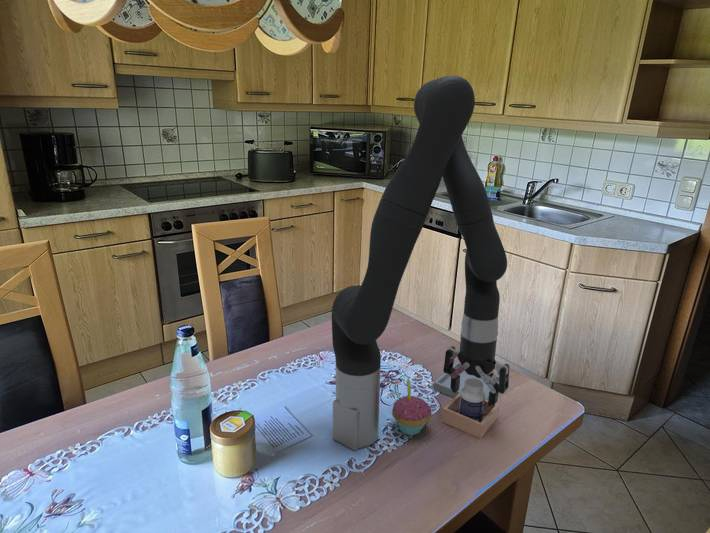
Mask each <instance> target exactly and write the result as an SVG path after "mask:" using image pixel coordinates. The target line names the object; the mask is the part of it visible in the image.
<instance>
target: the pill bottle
mask: <svg viewBox="0 0 710 533" xmlns="http://www.w3.org/2000/svg"><path fill="white" fill-rule="evenodd" d="M484 403H485V393H484V391H483V382H482V381H480V380H478V379H475V378H469V379H467V380H465V385H464V388H463V389H462V390H461V393H460V403H459V409H458V413H459V414H461V415H464V416H466V417H469V418H471V419H473V420H476V421H478V422H480V423H481V422H482V421H483V419H484V414H483V412H484Z"/></svg>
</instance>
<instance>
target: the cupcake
mask: <svg viewBox="0 0 710 533" xmlns="http://www.w3.org/2000/svg"><path fill="white" fill-rule="evenodd" d="M406 384H407V385H406V386H407V395H405V396H404V395H403V396H402V397H400V398H398V399H396V400H395V401H394V402H393V404H392V409H391V410H392V411H391V413H392V414H391V415H392V417H393V418H394V419H395V421H396V423H397V424H398V425H397V426H398V428H399V431H400V432H401V433H403V434H404V435H408V436H414V435H418V434H419V433H420V432H421V431H422V428H423V426H424V424H426V423H427V422H428V421H431V418H432V408H431V406H430V405H429V403H428V402H426V401H425V400H424V399H423V398H421V397H419V396H414V395H412V393H411V392H412V391H411V380H410V378H409V376H407V380H406Z"/></svg>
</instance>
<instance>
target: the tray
mask: <svg viewBox="0 0 710 533" xmlns="http://www.w3.org/2000/svg"><path fill="white" fill-rule="evenodd" d="M459 366H461V363H460V361H457V362H456V363H454V364H453V368H455V369H457V368H458V367H459ZM459 375H460V385H459V390H458V391H457V392H456V393H454V392H452V389H451V387H450V386H451V376H450V375H449V374H448V373H447V374H446V373H444V372H443V374H442V375H440V377H438V378H437V379H436V380H435V381H434V382H433V390H434V391H437V392H439V393H441V394H444V395H447V396H449V397H451V398H452V399H454V398H455V397H456V396H457V395H458V394H459V393H460V392H461V390H462V389H463V388H464V385H465V380H467V379H469V378H475V379H478V380H480V381H482V382H483V391H484V393H485V400H488V399H489V392H490V389H489V387H488V386H487V385H486V384H485V383H484V381H483V380H482V378H477V377H475V376H474V375H469V374H467V372H465V370H464V371H463V372H462V373H461V374H459ZM495 375H496V379H497V381H498V383H499V375H498V374H495ZM487 376H488V377H489V375H487Z"/></svg>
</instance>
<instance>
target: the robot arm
mask: <svg viewBox="0 0 710 533" xmlns="http://www.w3.org/2000/svg"><path fill="white" fill-rule="evenodd" d="M415 94H416V95H415V97H414V101H413V112H414V114H415V117H416V119H417V121H418V124H419V125H418V129H417V131H416V134H415V137H414V139H413V143H412V145H411V146H410V150H409V151H408V153H407V155H406V157H404V159H403V160H402V162H401V163H400V165H399V167H398V168H397V169H396V171H395V172H394V173H393V175H392V176H391V178H390V180H389V182H388V183H387V185H386V187H385V189H384V191H383V193H382V195H381V198H380V201H379V202H378V205H377V208H376V211H375V212H374V213H375V214H374V216H373V219H372V222H371V226H370V227H371V228H370V234H369V235H370V236H369V247H368V260H367V261H368V262H367V268H366V271H365V275H364V277H363V281H362V283H361V285H350V286H347V287H345V288H343V289H341V290H340V291H339V292H338V293H337V295H336V296H335V298H334V301H333V303H332V307H331V332H332V333H331V336H332V340H331V341H332V349H333V353H334V356H335V399H334V400H332V439H333V440H335V441H336V442H339V443H340V444H342V445H343V446H345V447H347V448H349V449H351V450H353V451H357V450H358V449H362V448H366V447H369V446H371V445H373V444H374V443H375V442H376V441H377V440H378V438H379V430H380V429H379V428H380V426H379V424H380V422H379V421H380V396H381V394H380V391H381V368H382V367H381V366H382V365H381V364H382V363H381V362H382V361H381V360H382V359H381V358H382V354H381V350H380V347H379V345H378V343H377V340H378V339H379V338H380V337H381V335H382V334H383V333H384V332H385V330H386V329H387V326H388V324H389V321H390V318H391V314H392V311H393V309H394V304H395V300H396V298H397V294H398V291H399V288H400V284H401V281H402V279H403V276H404V274H405V271H406V268H407V265H408V264H409V262H410V258H411V256H412V253H413V251H414V248H415V245H416V243H417V241H418V239H419V237H420V235H421V231H422V229H423V227H424V224H425V222H426V220H427V217H428V216H429V212H430V210H431V207H432V203H433V201H434V200H435V199H434V198H435V196H436V194H437V191H438V189H439V186H440V184H441V181H443V183H444V186H445V189H446V193H447V196H448V198H449V202H450V206H451V209H452V210H451V211H452V212H453V216H454V219H455V222H456V226H457V229H458V232H459V233H460V235H461V236H462V239H463V241H464V244H465V248H466V252H465V254H464V255H465V256H464V278H465V296H464V303H463V304H464V306H463V314H462V320H461V327H460V328H461V329H460V342H459V350H457V349H456V347H455V346H452V345H451V346H450V347H449V348H447V350H446V351H445V355H444V363H443V364H444V365H443V374H444V373H446V374H447V373H448V374H449V375H450V376H451V386H450V387H451V389H452V392H454V393H456V392H457V391H458V390H459V385H460V375H459V374H461V373H462V372H463V371H464V370H465V372H467V374H469V375H474V376H475V377H477V378H482V380H483V381H484V383H485V384H486V385H487V386H488V387H489V389H490V392H489V399H488V406H490V407H492V406H493V405H495V404H497V402H498V399H499V394H502V395H503V394H505V392H506V391H507V390H508V389H509V386H510V384H509V381H510V364H508V363H504V364H500V363H497V361H496V352H497V340H498V336H499V312H500V311H499V310H500V303H501V302H500V300H501V299H500V292H499V288H498V286H497V285H498V283H497V281H498V280H500V279H502V278H503V276H504V275H505V273H506V271H507V268H508V258H507V255H506V250H505V247H504V245H503V243H502V240H501V237H500V234H499V232H498V230H497V228H496V225H495V222H494V215H493V211H492V209H491V208H492V207H491V204H490V201H489V197H488V194H487V190H486V187H485V185H484V183H483V181H482V180H483V179H481V177H480V175H479V173H478V171H477V169H476V168H475V167H476V166H475V165H474V163H473V162H472V160H471V157H470V156H469V153H468V151H467V149H466V148H467V147H466V145H465V143H464V142H465V141H464V139H463V134H464V132H465V130H466V128H467V126H468V124H469V123H470V121H471V118H472V116H473V113H474V110H475V103H476V98H475V96H476V95H475V92H474V89H473V87H472V85H471V84H470V82H469V81H468V80H467V79H465V78H464V77H462V76H459V75H446V76H442V77H438V78H436V79H432V80H430V81H427V82H426V83H424V84H423V85H422V86H420V88H419V89H418V90H417V92H416V93H415ZM442 179H443V180H442ZM456 358H457V359H458V362H460V363H461V366H459V367H458V368H457V369H455V368H453V365H454V364H455V359H456ZM494 370H495V371H496V373H497V374H495V372H494ZM487 375H489V377H488V376H487ZM496 375H497V376H499V383H498V381H497V379H496Z"/></svg>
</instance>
